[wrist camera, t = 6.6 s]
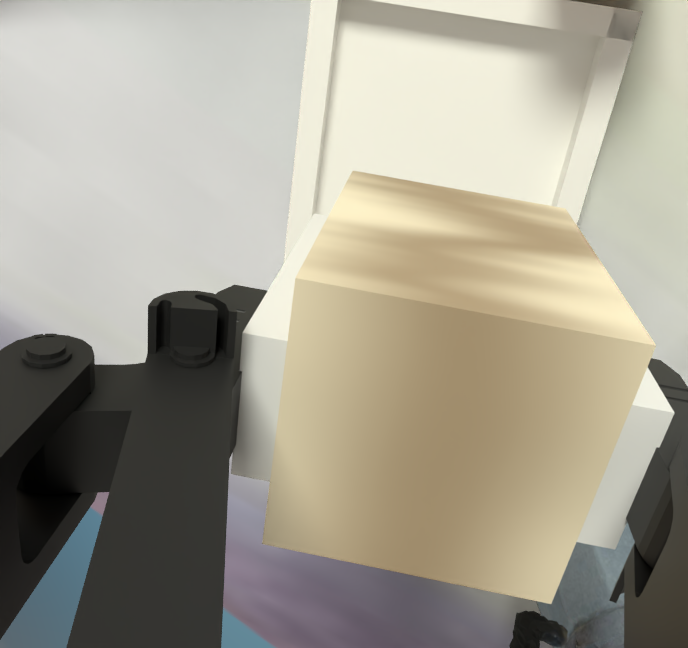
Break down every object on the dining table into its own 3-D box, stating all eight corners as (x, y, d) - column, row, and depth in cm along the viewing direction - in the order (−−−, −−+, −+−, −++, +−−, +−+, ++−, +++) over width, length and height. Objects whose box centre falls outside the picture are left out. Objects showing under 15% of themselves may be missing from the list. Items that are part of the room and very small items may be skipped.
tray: (628, 11, 25) (642, 11, 24) (532, 330, 32) (538, 350, 30) (323, -36, 26) (315, -39, 24) (288, 286, 32) (279, 302, 31)
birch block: (565, 208, 15) (656, 345, 9) (509, 391, 17) (550, 603, 11) (352, 170, 15) (295, 278, 9) (324, 354, 18) (262, 543, 11)
